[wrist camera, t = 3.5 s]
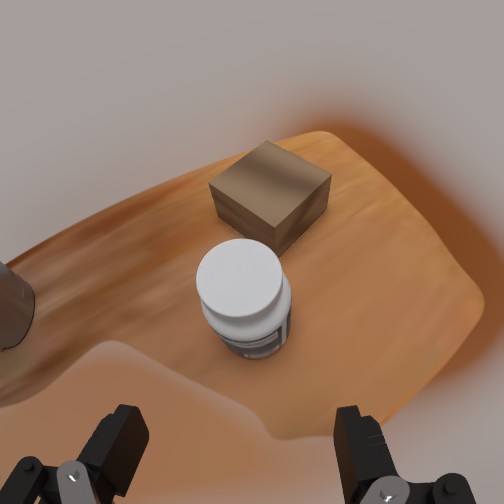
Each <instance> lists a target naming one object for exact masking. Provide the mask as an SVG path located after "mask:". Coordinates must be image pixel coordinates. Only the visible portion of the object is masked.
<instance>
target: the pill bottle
mask: <svg viewBox="0 0 504 504" xmlns="http://www.w3.org/2000/svg"><path fill="white" fill-rule="evenodd" d="M196 285H197V290H198V293H199V296H200V298H201V307H202V311H203V314H204V316H205V318H206V320H207V322H208V323H209V325H210V326H211V327H212V329H213V330H214V331H215V332H216V333H217V335H218V336H219V337H220V338H221V339H222V341H223V342H224V343H225V344H226V346H227V347H228V348H229V349H230V350H231V351H233V352H234V353H235V354H237V355H239V356H241V357H244V358H248V359H261V358H265V357H268V356H270V355H272V354H274V353H275V352H277V351H278V350H279V349H280V348H281V347H282V346H283V344H284V343H285V341H286V339H287V337H288V334H289V330H290V317H291V302H292V295H291V288H290V284H289V282H288V279H287V277H286V276H285V274H284V273H283V271H282V267H281V264H280V262H279V260H278V258H277V256H276V255H275V253H274V252H273V251H272V250H271V249H270V248H268V247H267V246H266V245H264V244H262V243H260V242H258V241H255V240H250V239H233V240H229V241H226V242H223V243H221V244H219V245H217V246H216V247H214V248H213V249H211V250H210V251H209V252H208V253H207V254H206V255H205V257H204V258H203V260H202V261H201V263H200V265H199V267H198V270H197V275H196Z"/></svg>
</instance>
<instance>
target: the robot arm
mask: <svg viewBox="0 0 504 504" xmlns="http://www.w3.org/2000/svg"><path fill="white" fill-rule="evenodd" d="M33 310H34V295H33V291H32V289H31V287H30V285H29V284H28V283H27V282H25V281H24V280H23V279H22V278H21V277H19V276H18V275H17V274H15V273H14V272H13V271H11V270H10V269H9V268H8V267H7V266H5V265H4V264H3V263H1V261H0V352H1V351H2V350H3V349H4V348H10V347H13V346H15V345H16V344H18V343H19V342H20V341H21V340H22V338H23V337H24V335H25V334H26V332H27V330H28V328H29V326H30V323H31V320H32V316H33ZM148 441H149V431H148V428H147V426H146V424H145V421H144V419H143V417H142V415H141V412H140V410H139V408H138V407H136V406H129V405H123V404H120V405H119V406H118V407H117V409H116V410H115V412H114V414H109V415H107V416H106V417H105V418H103V419H102V420H101V421H100V423H99V425H98V426H97V428H96V430H95V431H94V432H93V434H92V437H90V439H89V440H88V442H87V444H86V445H85V447H84V448H83V450H82V452H81V454H80V455H79V457H78V458H77V459H76V461H67V462H65V463H63V464H62V465H61V466H60V467H52V466H44V465H43V464H42V463H41V462H40V461H39V459H37V458H36V457H33V456H28V457H24V458H22V459H21V460H20V461H19V462H18V464H17V465H16V467H15V468H14V470H13V471H12V473H11V474H10V476H9V478H8V479H7V481H6V482H5V484H4V486H3V487H2V489H1V491H0V504H34V502H35V500H36V498H37V497H38V496H39V497H41V499H40V501H39V503H38V504H115V503H114V501H113V498H114V496H115V495H118V496H121V497H125V495H126V493H127V490H128V488H129V486H130V483H131V481H132V479H133V476H134V474H135V472H136V469H137V467H138V464H139V462H140V460H141V458H142V455H143V453H144V451H145V448H146V446H147V444H148ZM334 446H335V451H336V457H337V462H338V467H339V472H340V477H341V483H342V488H343V494H344V499H345V504H476V502H475V499H474V496H473V494H472V492H471V489H470V486H469V484H468V482H467V480H466V478H465V477H463V476H462V475H460V474H457V473H448V474H445V475H443V476H441V477H440V478H439V479H437V481H436V482H431V483H410V482H407V481H405V480H404V479H402V478H401V477H400V476H399V475H398V474H397V471H396V469H395V466H394V463H393V461H392V458H391V455H390V452H389V449H388V447H387V444H386V443H385V439H384V436H383V435H382V431H381V428H380V425H379V423H378V422H377V421H376V420H375V419H374V418H372V417H371V416H370V415H369V416H364V417H361V415H360V412H359V409H358V407H357V405H354V406H347V407H340V408H337V412H336V420H335V426H334Z"/></svg>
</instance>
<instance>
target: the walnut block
mask: <svg viewBox="0 0 504 504" xmlns="http://www.w3.org/2000/svg"><path fill="white" fill-rule="evenodd" d="M331 176H332V174H331V173H329V172H327V171H325V170H323V169H322V168H320V167H318V166H316V165H314V164H312V163H310V162H309V161H307V160H305V159H303V158H301V157H299V156H297V155H295V154H293V153H291V152H289V151H287V150H285V149H283V148H281V147H279V146H277V145H275V144H273V143H271V142H269V141H265V142H264V143H262V144H261V145H260V146H258V147H257V148H255V149H254V150H252V151H251V152H250V153H248V154H247V155H245V156H244V157H243V158H241V159H240V160H239V161H237V162H236V163H234V164H233V165H232V166H230V167H229V168H228V169H226V170H225V171H224V172H222V173H221V174H220V175H218V176H217V177H216V178H214V179H213V180H212V181H210V182H209V186H210V190H211V193H212V197H213V200H214V203H215V207H216V210H217V213H218V216H219V217H220V218H221V219H223V220H224V221H225V222H227V223H228V224H229V225H231V226H232V227H233V228H235V229H236V230H237V231H239V232H240V233H241V234H243V235H244V236H245V237H247V238H248V239H250V240H255V241H258V242H260V243H262V244H264V245H266V246H267V247H268V248H270V249H271V250H272V251H273V252H274V253H275V255H276V256H277V258H279V257H280V256H281V255H282V254H283V253H284V252H285V251H286V250H287V249H288V248H289V247H290V246H291V245H292V244H293V242H294V241H295V240H296V239H297V238H298V237H299V236H300V235H301V234H302V233H303V232H304V231H305V230H306V229H307V228H308V227H309V226H310V225H311V224H312V223H313V222H314V221H315V220H316V219H317V218H318V217H319V216H320V215H321V214H322V213H323V212H324V211H325V210H326V209H327V203H328V196H329V190H330V183H331Z"/></svg>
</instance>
